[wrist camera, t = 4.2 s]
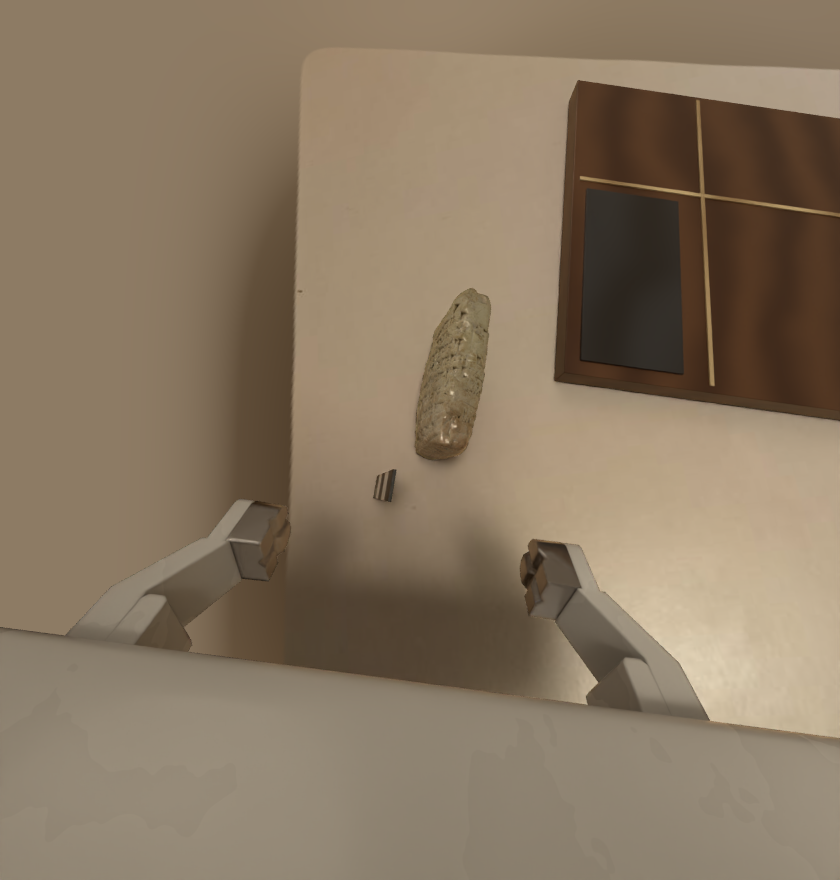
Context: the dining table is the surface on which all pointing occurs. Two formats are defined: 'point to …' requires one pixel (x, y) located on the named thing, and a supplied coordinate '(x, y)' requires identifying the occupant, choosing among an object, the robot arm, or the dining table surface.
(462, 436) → the cuneiform tablet
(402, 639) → the dining table surface
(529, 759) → the robot arm
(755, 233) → the board
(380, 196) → the dining table surface
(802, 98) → the dining table surface
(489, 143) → the dining table surface
